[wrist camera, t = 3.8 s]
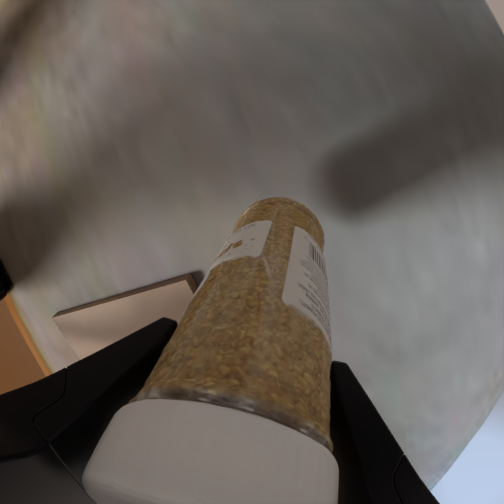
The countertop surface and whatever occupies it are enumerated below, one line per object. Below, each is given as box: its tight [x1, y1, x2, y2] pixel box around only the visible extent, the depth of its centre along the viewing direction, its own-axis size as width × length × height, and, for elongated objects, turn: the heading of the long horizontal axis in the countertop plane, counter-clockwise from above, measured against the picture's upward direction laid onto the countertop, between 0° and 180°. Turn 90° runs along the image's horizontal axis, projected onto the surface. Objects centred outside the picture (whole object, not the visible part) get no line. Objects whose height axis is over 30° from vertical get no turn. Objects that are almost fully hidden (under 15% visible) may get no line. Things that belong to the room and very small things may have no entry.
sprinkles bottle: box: [82, 197, 339, 504], centre depth 9 cm, size 5×5×14 cm
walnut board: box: [52, 273, 198, 359], centre depth 28 cm, size 18×18×1 cm
